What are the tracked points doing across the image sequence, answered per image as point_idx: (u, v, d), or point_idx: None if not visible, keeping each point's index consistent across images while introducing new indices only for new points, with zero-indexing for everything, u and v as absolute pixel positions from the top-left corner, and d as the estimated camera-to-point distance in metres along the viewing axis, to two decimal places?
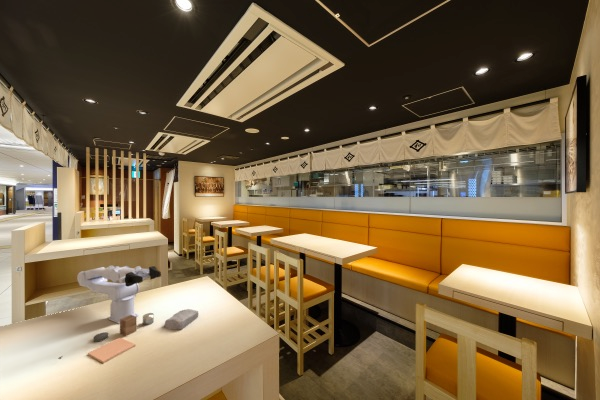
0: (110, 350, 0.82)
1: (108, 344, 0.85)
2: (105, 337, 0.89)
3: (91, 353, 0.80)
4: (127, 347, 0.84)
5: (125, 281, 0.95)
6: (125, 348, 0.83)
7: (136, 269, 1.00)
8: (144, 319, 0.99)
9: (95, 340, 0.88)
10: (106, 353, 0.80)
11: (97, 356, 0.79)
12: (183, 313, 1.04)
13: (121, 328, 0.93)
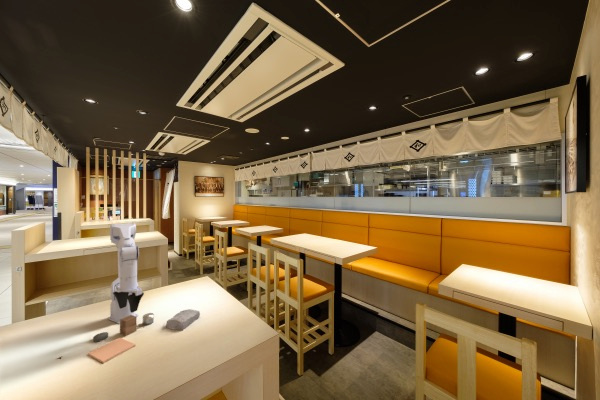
0: (110, 350, 0.82)
1: (108, 344, 0.85)
2: (105, 337, 0.89)
3: (91, 353, 0.80)
4: (127, 347, 0.84)
5: None
6: (125, 348, 0.83)
7: None
8: (144, 319, 0.99)
9: (95, 340, 0.88)
10: (106, 353, 0.80)
11: (97, 356, 0.79)
12: (184, 313, 1.04)
13: (121, 328, 0.93)
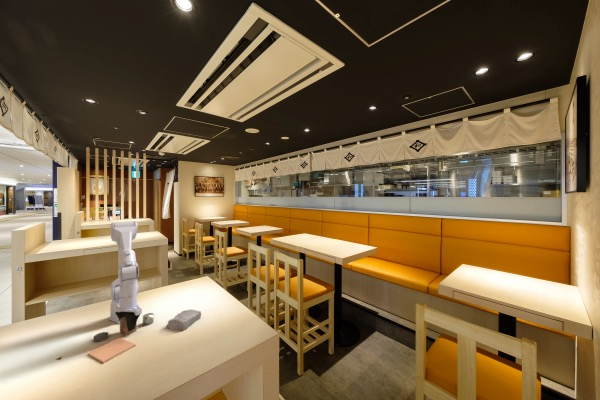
0: (110, 350, 0.82)
1: (108, 344, 0.85)
2: (106, 337, 0.90)
3: (91, 353, 0.80)
4: (127, 347, 0.84)
5: None
6: (125, 348, 0.83)
7: None
8: (144, 319, 0.99)
9: (96, 340, 0.88)
10: (106, 353, 0.80)
11: (97, 356, 0.79)
12: (186, 313, 1.03)
13: (121, 328, 0.93)
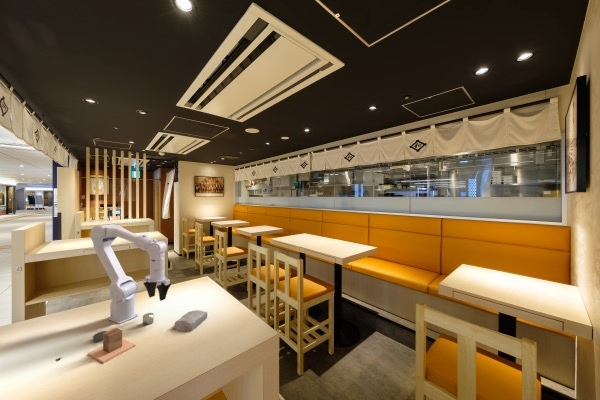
0: None
1: None
2: None
3: (91, 353, 0.80)
4: (127, 347, 0.84)
5: None
6: (125, 348, 0.83)
7: None
8: (145, 319, 0.99)
9: None
10: (106, 353, 0.80)
11: (97, 356, 0.79)
12: (192, 314, 1.03)
13: (105, 343, 0.82)
